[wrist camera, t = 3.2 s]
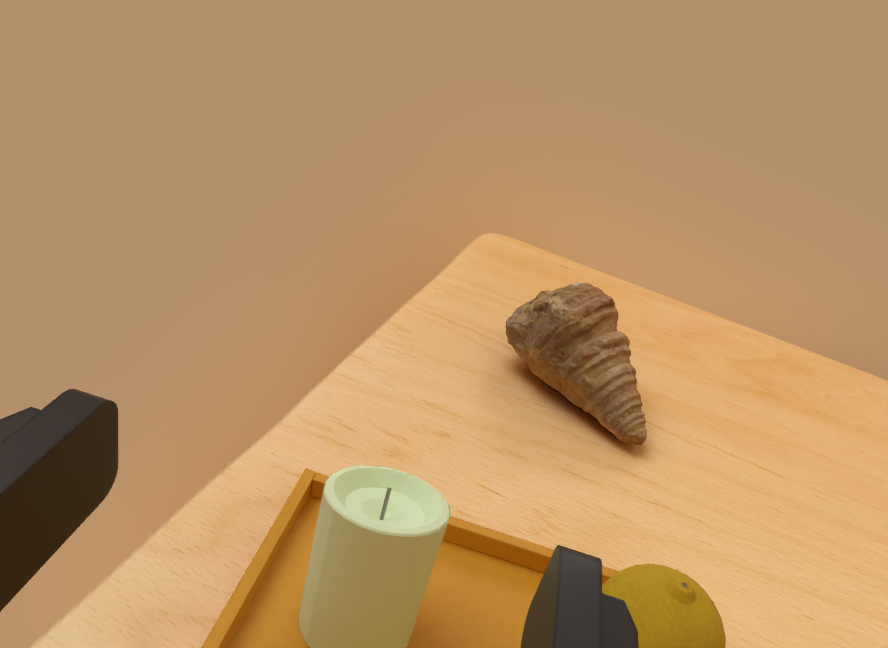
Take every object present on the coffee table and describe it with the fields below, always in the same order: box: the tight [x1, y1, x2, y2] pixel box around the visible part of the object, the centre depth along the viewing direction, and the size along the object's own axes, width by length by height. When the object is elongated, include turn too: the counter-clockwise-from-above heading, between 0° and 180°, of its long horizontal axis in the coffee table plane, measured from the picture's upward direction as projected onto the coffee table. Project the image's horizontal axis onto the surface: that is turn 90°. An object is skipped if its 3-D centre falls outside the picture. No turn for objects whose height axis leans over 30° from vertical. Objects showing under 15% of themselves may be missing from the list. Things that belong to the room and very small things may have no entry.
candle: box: [299, 465, 451, 648], centre depth 29 cm, size 5×5×8 cm
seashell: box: [506, 283, 646, 445], centre depth 50 cm, size 14×8×8 cm
